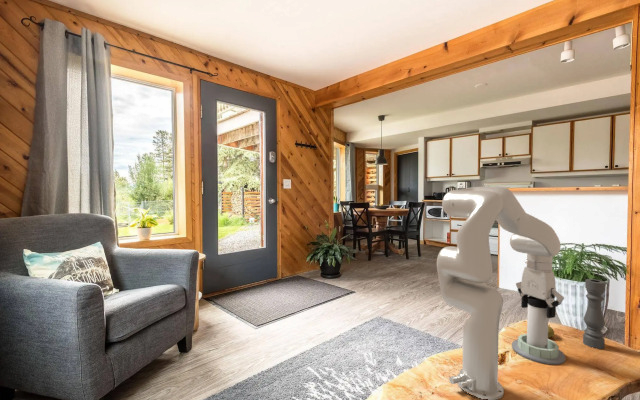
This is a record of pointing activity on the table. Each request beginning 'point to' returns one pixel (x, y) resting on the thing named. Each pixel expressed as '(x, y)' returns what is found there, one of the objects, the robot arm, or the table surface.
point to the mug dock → (540, 360)
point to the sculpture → (550, 332)
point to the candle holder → (594, 314)
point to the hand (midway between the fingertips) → (537, 312)
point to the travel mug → (537, 323)
